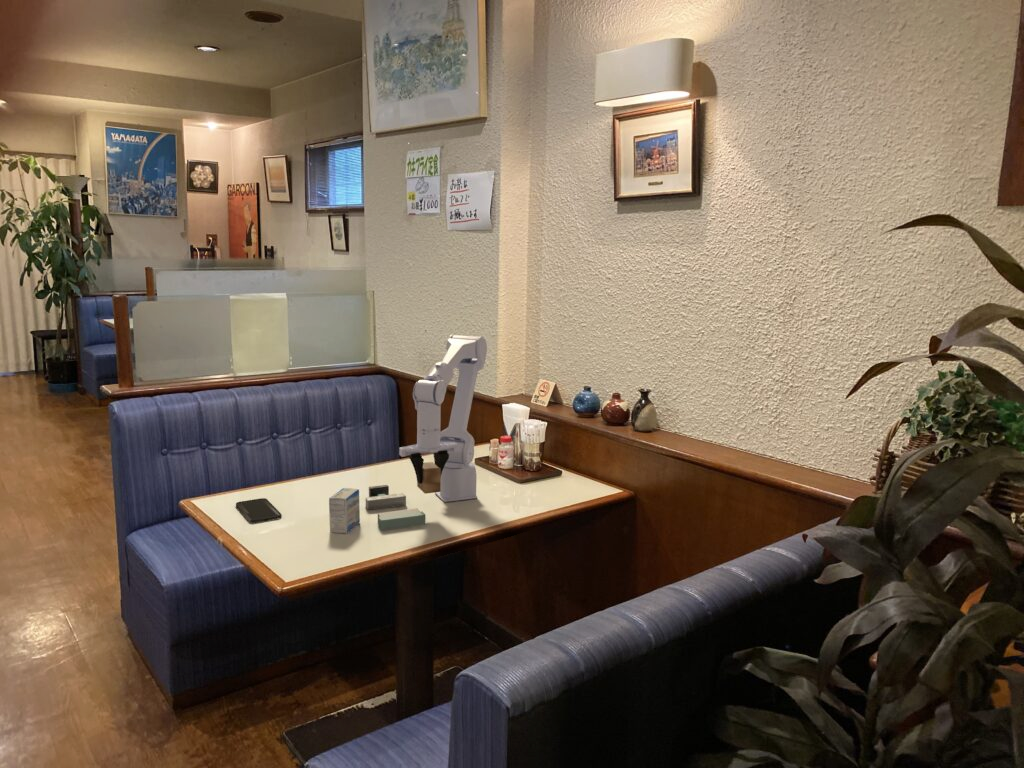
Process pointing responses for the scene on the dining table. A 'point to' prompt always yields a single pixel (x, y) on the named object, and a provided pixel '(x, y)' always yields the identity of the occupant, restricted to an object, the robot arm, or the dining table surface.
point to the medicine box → (344, 510)
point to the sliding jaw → (383, 498)
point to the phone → (258, 510)
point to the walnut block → (430, 478)
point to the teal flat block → (400, 519)
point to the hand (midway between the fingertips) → (428, 481)
